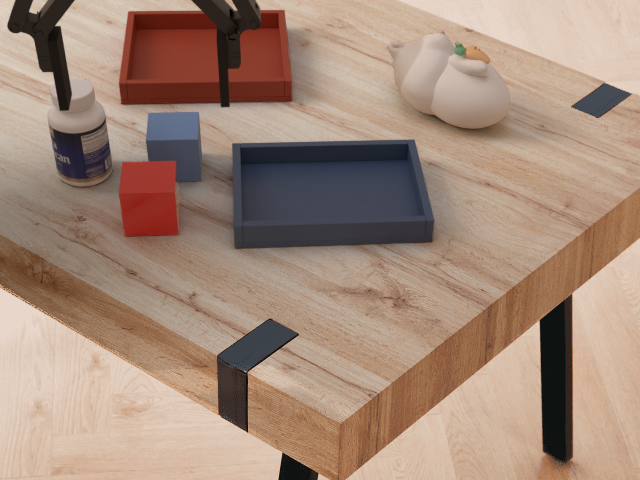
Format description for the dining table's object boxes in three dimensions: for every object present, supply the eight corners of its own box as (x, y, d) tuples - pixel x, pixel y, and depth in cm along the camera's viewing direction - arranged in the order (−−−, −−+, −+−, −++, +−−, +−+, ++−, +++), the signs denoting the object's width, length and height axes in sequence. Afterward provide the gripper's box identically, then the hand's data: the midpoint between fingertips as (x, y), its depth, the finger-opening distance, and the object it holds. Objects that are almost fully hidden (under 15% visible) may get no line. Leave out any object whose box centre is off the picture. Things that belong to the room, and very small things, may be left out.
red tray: (121, 104, 117) (118, 83, 116) (130, 30, 130) (128, 10, 128) (291, 101, 120) (291, 80, 118) (284, 29, 132) (284, 9, 130)
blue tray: (234, 248, 100) (233, 226, 98) (233, 164, 110) (232, 143, 108) (432, 242, 102) (434, 220, 100) (413, 160, 112) (414, 139, 110)
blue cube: (150, 182, 107) (145, 140, 104) (152, 154, 111) (148, 112, 107) (201, 181, 108) (198, 139, 104) (201, 152, 111) (198, 111, 108)
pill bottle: (46, 172, 107) (30, 87, 101) (90, 150, 111) (77, 66, 104) (80, 195, 105) (65, 109, 98) (124, 172, 108) (112, 87, 102)
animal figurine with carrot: (525, 55, 110) (402, -1, 115) (485, 118, 109) (362, 58, 113) (527, 100, 119) (413, 46, 124) (490, 158, 118) (376, 101, 122)
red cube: (124, 236, 100) (118, 193, 97) (127, 204, 104) (122, 161, 101) (178, 234, 101) (174, 191, 98) (180, 202, 105) (176, 160, 101)
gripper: (-69, -130, 75) (-9, 127, 89) (288, -130, 78) (292, 121, 92) (-49, -168, 81) (4, 81, 95) (284, -166, 83) (288, 75, 97)
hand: (146, 101), depth 93 cm, fingers open, 13 cm apart
